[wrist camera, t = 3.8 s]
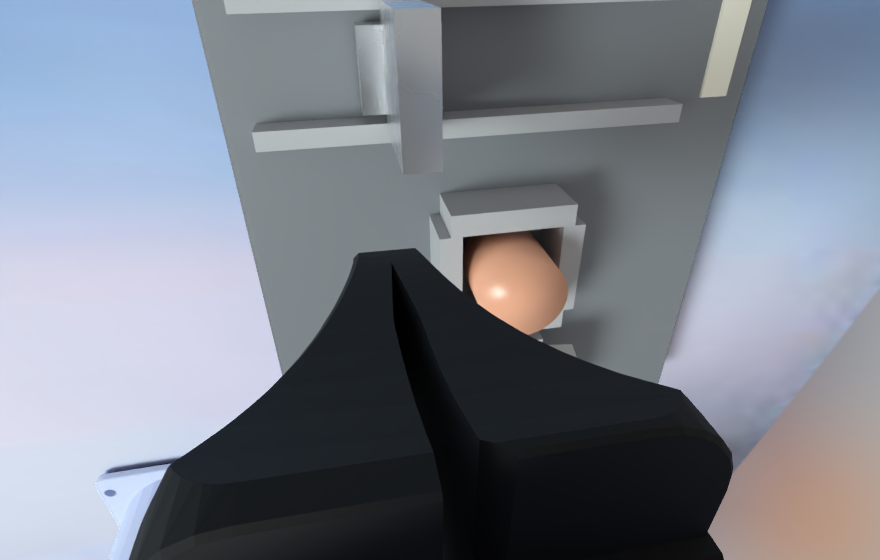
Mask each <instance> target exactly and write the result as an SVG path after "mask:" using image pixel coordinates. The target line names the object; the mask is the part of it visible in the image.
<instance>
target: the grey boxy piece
mask: <svg viewBox="0 0 880 560" xmlns="http://www.w3.org/2000/svg"><path fill="white" fill-rule="evenodd" d="M379 8H380V21H376V22H353V25H354V35H355V46H356V56H357V67H358V77H359V88H360V98H361V108H362V112H363V116H369V115H385V114H387V123H388V135H389V138H390V140H391V143H392V146H393V149H394V151H395V154H396V157H397V160H398V162H399V165H400V168H401V170H402V173H403V175H410V174H422V173H434V172H443V123H442V111H443V91H442V22H441V7H438V6H435V5H432V4H430V3H427V2H424V1H421V0H379Z"/></svg>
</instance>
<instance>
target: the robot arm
mask: <svg viewBox="0 0 880 560" xmlns="http://www.w3.org/2000/svg"><path fill="white" fill-rule="evenodd" d="M732 471H733V461H732V452H731V451H730V450H729V448H728V447H727V445H726V444H725V442H724V441H723V439H722V438H721V437H720V436H719V434H718V433H717V432H716V431H715V430H714V428H713V427H712V426H711V425H710V423H709V422H708V421H707V420H706V419H705V417H704V416H703V415H702V414H701V413H700V411H699V410H698V409H697V408H696V407H695V406H694V405H693V403H692V402H691V401H690V400H689V399H688V398H687V397H686V396H685V395H684V394H683V393H682V392H681V390H678V389H674V388H671V387H667V386H664V385H660V384H656V383H653V382H649V381H646V380H642V379H639V378H635V377H631V376H628V375H624V374H621V373H618V372H615V371H612V370H609V369H606V368H604V367H601V366H598V365H595V364H592V363H590V362H587V361H584V360H582V359H579V358H577V357H574V356H572V355H569V354H567V353H564V352H562V351H560V350H558V349H556V348H554V347H551V346H549V345H547V344H545V343H543V342H541V341H539V340H537V339H535V338H533V337H531V336H529V335H527V334H525V333H523V332H521V331H520V330H518V329H516V328H514V327H513V326H511V325H509V324H508V323H506V322H504V321H503V320H501V319H499V318H498V317H496V316H495V315H493V314H492V313H490V312H489V311H487V310H486V309H484V308H483V307H482V306H480V305H479V304H478V303H476V302H475V301H473V300H472V299H471V298H469V297H468V296H467V295H466V294H464V293H463V292H462V291H461V290H460V289H459V288H457V287H456V286H455V285H454V284H453V283H452V282H450V281H449V280H448V279H447V278H446V277H445V276H444V275H443V274H442V273H441V272H440V271H439V270H437V269H436V268H435V267H434V266H433V265H432V264H431V263H430V262H429V261H428V260H427V259H426V258H425V257H424V256H423V255H422V254H421V253H420V252H419V251H418V250H417V249H416V248H409V249H397V250H386V251H375V252H363V253H358V254H357V255H356V256H355V257H354V258H353V265H352V268H351V271H350V274H349V277H348V279H347V282H346V284H345V286H344V288H343V290H342V292H341V294H340V296H339V298H338V300H337V302H336V304H335V306H334V308H333V309H332V311H331V313H330V314H329V316H328V318H327V319H326V321H325V322H324V324H323V326H322V327H321V329H320V330H319V332H318V333H317V335H316V336H315V337H314V339H313V340H312V342H311V343H310V344H309V346H308V347H307V348H306V349H305V351H304V352H303V353H302V354H301V356H300V357H299V358H298V359H297V360H296V362H295V363H294V364H293V365H292V366H291V367H290V368H289V369H288V370H287V371H286V373H285V374H284V375H283V376H282V377H281V378H280V379H279V380H278V381H277V382H276V383H275V384H274V385H273V386H272V387H271V388H270V389H269V390H268V391H267V392H266V393H265V394H264V395H263V396H262V397H260V398H259V399H258V400H257V401H256V402H255V403H254V404H253V405H251V406H250V407H249V408H248V409H247V410H245V411H244V412H243V413H242V414H240V415H239V416H238V417H237V418H236V419H234V420H233V421H232V422H230V423H229V424H228V425H227V426H225V427H224V428H223V429H221V430H220V431H218V432H217V433H216V434H214V435H213V436H211V437H210V438H208V439H207V440H206V441H204V442H203V443H201V444H200V445H198V446H197V447H196V448H194V449H193V450H191V451H190V452H188V453H187V454H186V455H184V456H183V457H181V458H180V459H178V460H177V461H175V462H173V463H171V464H165V465H158V466H152V467H146V468H139V469H133V470H127V471H120V472H114V473H107V474H103V475H101V476H99V477H98V480H97V482H96V484H95V486H96V489H97V490H98V492H99V494H100V495H101V497H102V499H103V501H104V502H105V504H106V506H107V507H108V509H109V511H110V512H111V514H112V516H113V517H114V519H115V521H116V522H117V524H118V526H119V527H120V529H119V532H118V534H117V537H116V540H115V542H114V545H113V548H112V550H111V553H110V556H109V559H108V560H724V559H723V554H722V552H721V551H720V549H719V548H718V546H717V545H716V543H715V542H714V541H713V539H712V538H711V536H710V535H709V533H708V532H707V531H708V529H709V527H710V525H711V523H712V521H713V519H714V517H715V514H716V512H717V510H718V508H719V506H720V504H721V502H722V499H723V498H724V496H725V493H726V491H727V488H728V485H729V482H730V479H731V475H732Z"/></svg>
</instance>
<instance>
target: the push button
mask: <svg viewBox="0 0 880 560" xmlns="http://www.w3.org/2000/svg"><path fill="white" fill-rule="evenodd" d="M463 272H464V274H465V277H466V279H467V281H468V283H469V285H470V288H471V290H472V292H473V294H474V297H475V299H476V301H477V303H478V304H479V305H480V306H482V307H483V308H484V309H486V310H487V311H489V312H490V313H492V314H493V315H495V316H496V317H498V318H499V319H501V320H503V321H504V322H506V323H508V324H509V325H511V326H513V327H514V328H516V329H518V330H520V331H521V332H523V333H525V334H527V335H529V334H532V333H535V332H537V331H540V330H541V329H543V328H545V327H546V326H548V325H549V324H550V323H552V322H553V321H554V320H555V319H556V318H557V317H558V315H559V314H560V313H561V311H562V310H563V308H564V306H565V304H566V301H567V296H568V285H567V281H566V279H565V277H564V275H563V274H562V272H561V271H560V270H559V268H558V267H557V266H556V265H555V263H554V262H553V261H552V259H551V258H550V257H549V255H548V254H547V253H546V252H545V250H544V249H543V248H542V246H541V245H540V244H539V242H538V241H537V240H536V239H535V237H534V236H533V235H532V233H531V232H530V231H529V230H527V231H518V232H508V233H498V234H488V235H478V236H472V238H471V239H470V240H469V241H468V243H467V245H466V246H465V249H464V251H463Z"/></svg>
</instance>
